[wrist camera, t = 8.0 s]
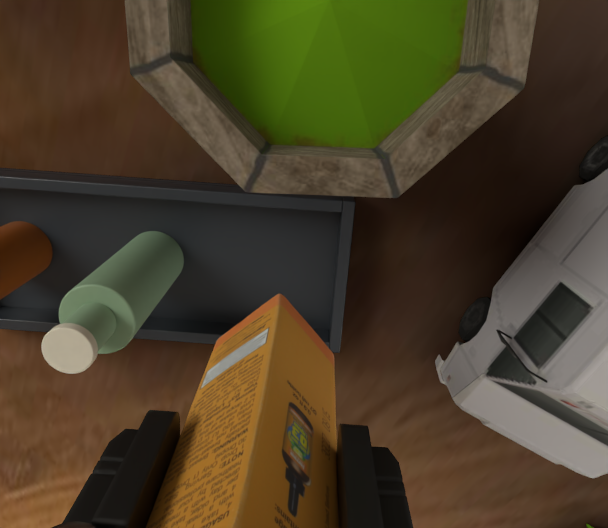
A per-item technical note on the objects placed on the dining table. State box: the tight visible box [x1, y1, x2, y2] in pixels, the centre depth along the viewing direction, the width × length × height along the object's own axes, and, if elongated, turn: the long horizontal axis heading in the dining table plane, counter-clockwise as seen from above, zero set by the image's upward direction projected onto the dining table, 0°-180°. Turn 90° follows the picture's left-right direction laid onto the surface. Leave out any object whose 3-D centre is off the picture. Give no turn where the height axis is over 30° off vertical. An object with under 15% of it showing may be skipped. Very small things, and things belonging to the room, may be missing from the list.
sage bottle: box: [41, 231, 184, 374], centre depth 22 cm, size 3×3×10 cm
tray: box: [0, 168, 355, 353], centre depth 26 cm, size 20×8×2 cm, turn 86°
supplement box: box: [146, 294, 338, 528], centre depth 13 cm, size 3×3×10 cm
